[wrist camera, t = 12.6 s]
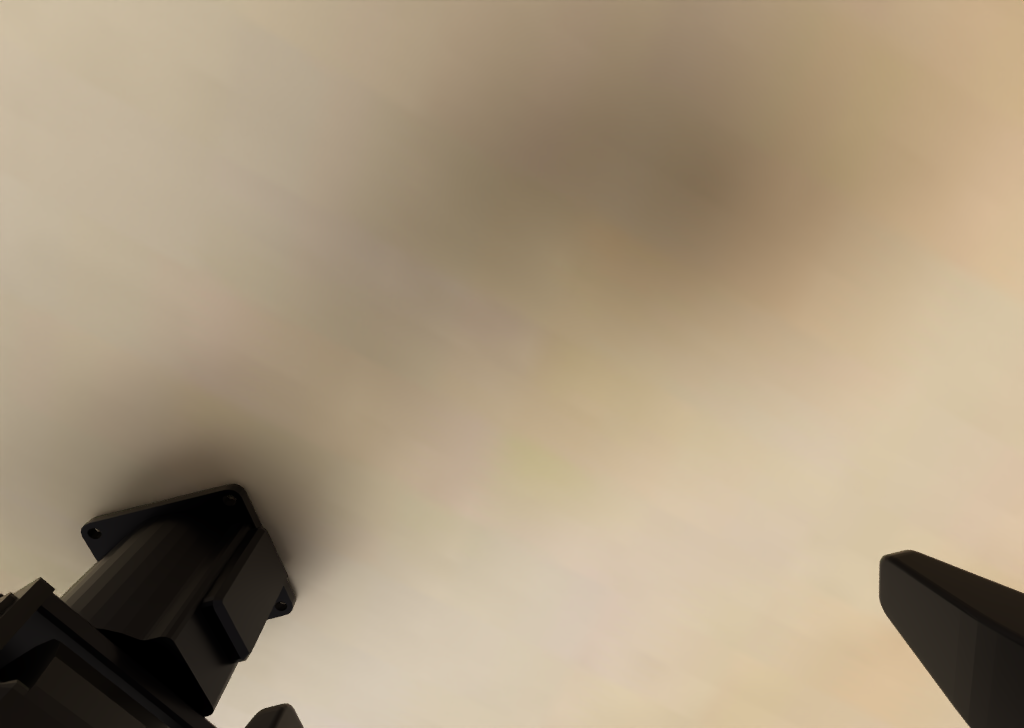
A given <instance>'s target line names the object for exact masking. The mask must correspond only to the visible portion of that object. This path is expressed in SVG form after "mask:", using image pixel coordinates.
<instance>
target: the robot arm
mask: <svg viewBox="0 0 1024 728" xmlns="http://www.w3.org/2000/svg"><path fill="white" fill-rule="evenodd" d="M228 495H232V496H234V497H235V498H236V500H231V499H230V498H229V497H228ZM95 528H96V529H98V530H99V531H100V532H98V531H97V530H96V529H95ZM81 534H82V537H83V539H84V540H85V542H86V543H87V545H88V547H89V548H90V550H91V552H92V553H93V555H94V556H95V558H96V560H97V561H98V562H97V563H96V564H95V565H94V566H93V567H92V568H91V569H89V570H88V571H87V572H86V573H85V574H84V575H83V576H82V577H81V578H80V579H79V580H78V581H77V582H76V583H75V584H74V585H73V586H72V587H71V588H70V589H69V590H68V591H67V592H66V593H65V594H64V595H63V596H62V597H61V598H59V597H57V596H56V595H55V594H54V593H53V591H54V590H55V589H54V588H53V587H52V586H51V585H50V584H48V583H47V582H46V581H45V580H43V579H42V578H41V577H40V578H38V579H36V580H35V581H33V582H31V583H30V584H28V585H27V586H25V587H24V588H22V589H20V590H19V591H17V592H16V593H14V594H12V593H11V592H10V593H8V594H6V595H3V594H0V728H217V727H216V726H214V725H213V724H212V723H211V722H210V721H208V720H207V719H206V718H205V717H207V716H209V715H211V714H212V713H213V711H214V710H215V708H216V706H217V704H218V702H219V700H220V698H221V696H222V694H223V692H224V690H225V688H226V686H227V684H228V682H229V680H230V678H231V676H232V674H233V672H234V670H235V668H236V666H237V664H238V662H241V661H245V660H247V658H248V657H249V655H250V653H251V652H252V650H253V648H254V645H255V643H256V641H257V639H258V637H259V635H260V633H261V631H262V629H263V627H264V625H265V623H266V621H267V620H268V619H272V618H276V617H280V616H284V615H287V614H289V613H290V612H291V611H292V609H293V607H294V605H295V602H296V598H295V595H294V593H293V591H292V589H291V586H290V584H289V582H288V580H287V577H288V575H287V573H286V571H285V568H284V566H283V564H282V562H281V560H280V558H279V556H278V554H277V551H276V549H275V547H274V545H273V543H272V541H271V539H270V536H269V534H268V532H267V531H266V530H265V529H264V528H263V527H262V525H261V523H260V521H259V518H258V516H257V514H256V512H255V510H254V508H253V506H252V504H251V501H250V499H249V497H248V495H247V493H246V491H245V490H244V488H242V487H241V486H239V485H236V484H229V485H225V486H221V487H217V488H213V489H208V490H204V491H200V492H196V493H192V494H188V495H184V496H180V497H176V498H172V499H168V500H164V501H160V502H156V503H151V504H147V505H143V506H139V507H135V508H131V509H127V510H123V511H119V512H115V513H111V514H107V515H103V516H99V517H95V518H93V519H91V520H90V521H89V522H87V523H86V524H85V525H84V526H83V527H82V528H81ZM879 599H880V603H881V606H882V608H883V610H884V612H885V614H886V615H887V617H888V618H889V620H890V621H891V622H892V624H893V625H894V626H895V628H896V629H897V630H898V632H899V633H900V634H901V636H902V637H903V639H904V640H905V641H906V643H907V644H908V645H909V647H910V648H911V649H912V651H913V652H914V653H915V655H916V656H917V657H918V659H919V660H920V662H921V663H922V664H923V666H924V667H925V668H926V670H927V671H928V672H929V674H930V675H931V676H932V678H933V679H934V680H935V682H936V683H937V685H938V686H939V687H940V689H941V690H942V691H943V693H944V694H945V695H946V697H947V698H948V699H949V701H950V702H951V703H952V705H953V706H954V707H955V709H956V710H957V711H958V713H959V714H960V715H961V716H962V718H963V719H964V720H965V722H966V723H967V724H968V725H969V727H970V728H1024V593H1022V592H1019V591H1017V590H1014V589H1011V588H1009V587H1006V586H1004V585H1001V584H999V583H996V582H994V581H991V580H988V579H986V578H983V577H981V576H978V575H976V574H973V573H971V572H968V571H965V570H963V569H960V568H958V567H955V566H953V565H950V564H948V563H945V562H942V561H940V560H937V559H935V558H932V557H930V556H927V555H925V554H922V553H919V552H916V551H913V550H904V551H900V552H896V553H891V554H887V555H885V556H883V557H882V559H881V560H880V568H879ZM280 602H284V603H286V604H282V603H280ZM245 728H304V727H303V725H302V723H301V721H300V720H299V718H298V716H297V714H296V712H295V710H294V708H293V707H292V706H291V705H289V704H288V703H287V704H285V703H284V704H280V705H276V706H272V707H268V708H265V709H262V710H261V711H259V712H258V713H257V714H256V715H255V716H254V717H253V718H252V720H251V721H250V722H249V723H248V724H247V726H246V727H245Z"/></svg>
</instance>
